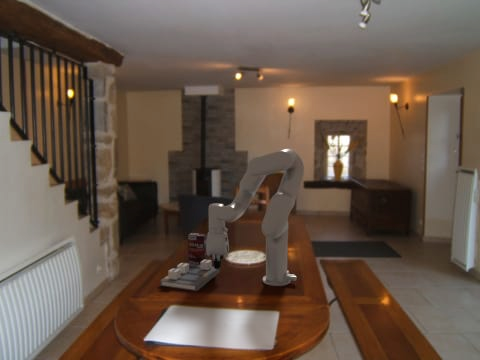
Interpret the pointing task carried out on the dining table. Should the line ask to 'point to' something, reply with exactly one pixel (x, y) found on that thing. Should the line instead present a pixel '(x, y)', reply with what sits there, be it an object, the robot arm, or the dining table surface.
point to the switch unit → (191, 278)
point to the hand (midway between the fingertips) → (217, 268)
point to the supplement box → (196, 248)
